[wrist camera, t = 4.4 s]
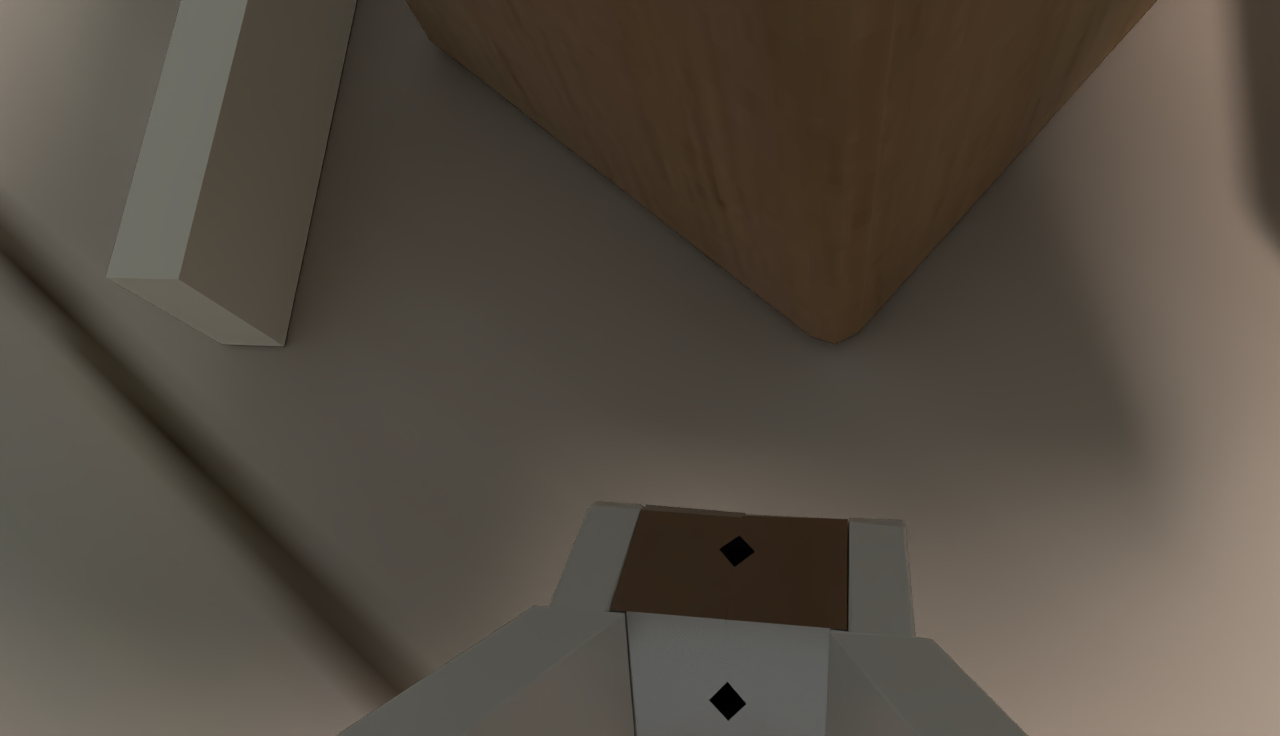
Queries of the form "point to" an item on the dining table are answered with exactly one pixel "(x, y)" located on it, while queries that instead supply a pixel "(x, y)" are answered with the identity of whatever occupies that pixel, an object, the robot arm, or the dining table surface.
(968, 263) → the dining table surface
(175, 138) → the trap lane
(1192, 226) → the dining table surface
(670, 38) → the wooden block
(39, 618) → the dining table surface
